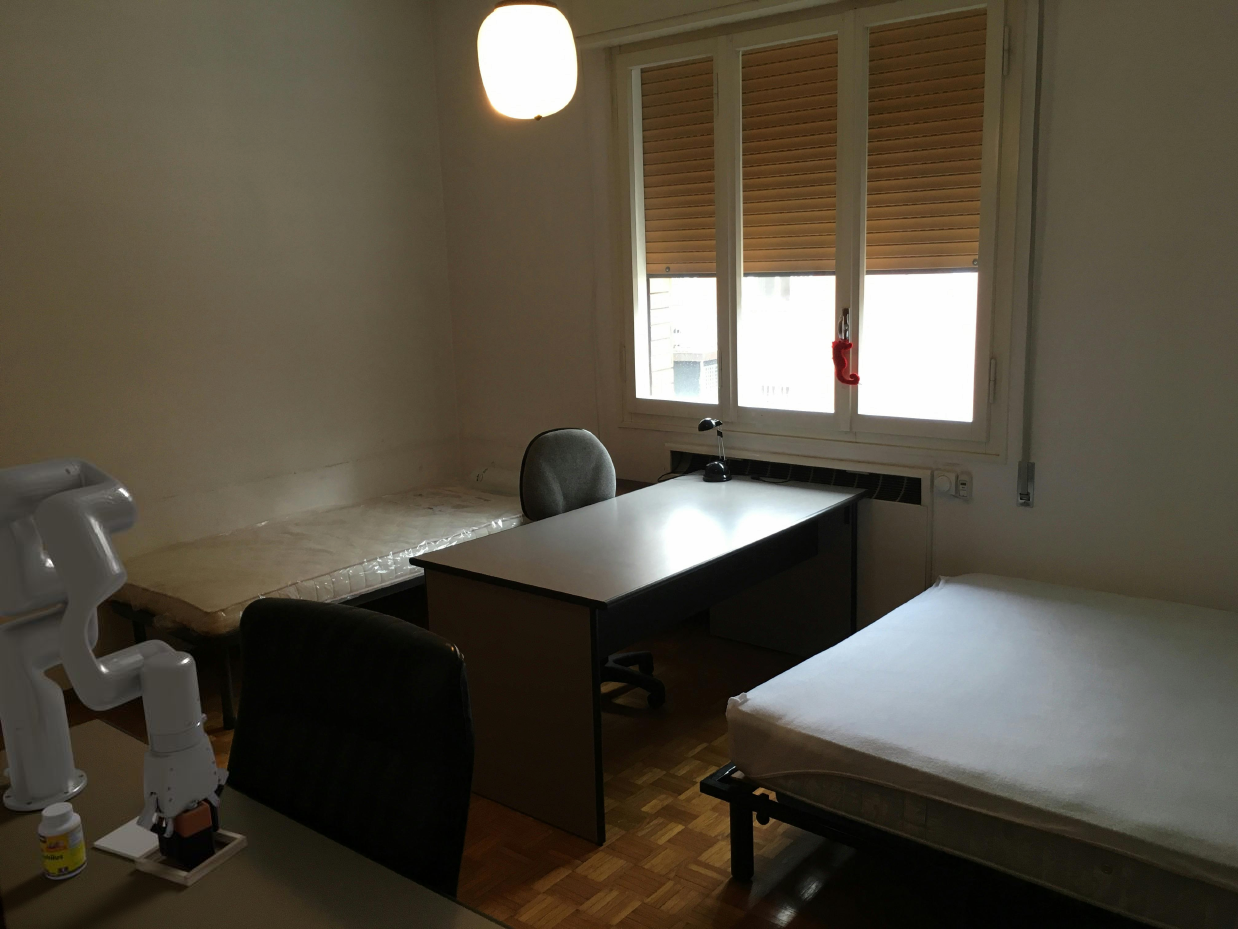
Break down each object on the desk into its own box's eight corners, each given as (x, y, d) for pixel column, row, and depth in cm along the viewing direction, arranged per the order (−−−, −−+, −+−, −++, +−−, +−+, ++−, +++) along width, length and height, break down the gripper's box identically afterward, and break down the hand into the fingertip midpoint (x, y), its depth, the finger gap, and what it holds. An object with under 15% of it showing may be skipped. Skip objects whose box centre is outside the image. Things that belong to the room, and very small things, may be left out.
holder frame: (136, 869, 145) (134, 860, 145) (195, 830, 155) (194, 821, 155) (189, 886, 141) (187, 877, 140) (247, 845, 151) (246, 836, 150)
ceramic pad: (94, 846, 152) (93, 843, 152) (148, 813, 160) (148, 810, 160) (138, 861, 147) (137, 857, 147) (191, 826, 156) (191, 823, 156)
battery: (189, 872, 144) (181, 811, 142) (168, 856, 149) (159, 796, 147) (217, 858, 148) (209, 798, 146) (195, 842, 152) (187, 784, 150)
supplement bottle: (36, 878, 144) (26, 816, 142) (67, 857, 149) (57, 796, 147) (65, 884, 142) (55, 821, 140) (96, 862, 147) (86, 801, 145)
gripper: (204, 707, 153) (217, 809, 157) (107, 757, 138) (124, 869, 141) (239, 714, 150) (252, 818, 154) (144, 767, 135) (160, 881, 138)
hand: (190, 842), depth 148 cm, fingers open, 6 cm apart
